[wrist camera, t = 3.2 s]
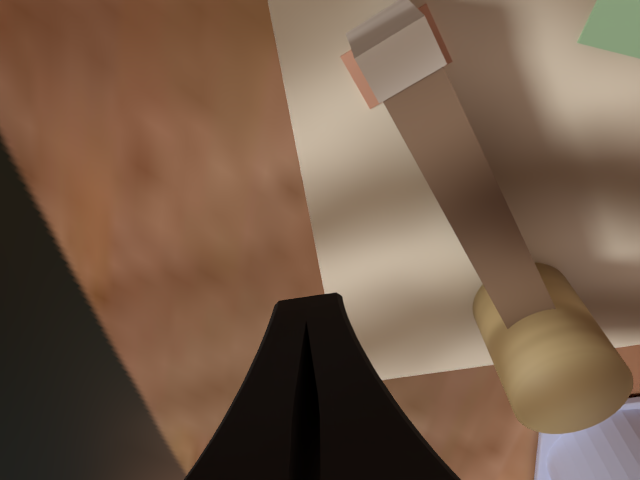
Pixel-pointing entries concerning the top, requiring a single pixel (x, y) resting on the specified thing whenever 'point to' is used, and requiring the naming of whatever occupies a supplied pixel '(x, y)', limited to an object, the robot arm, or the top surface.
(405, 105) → the friction peg
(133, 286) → the top surface
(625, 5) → the green tile
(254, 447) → the robot arm
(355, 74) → the thin salmon tile
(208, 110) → the top surface
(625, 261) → the board
